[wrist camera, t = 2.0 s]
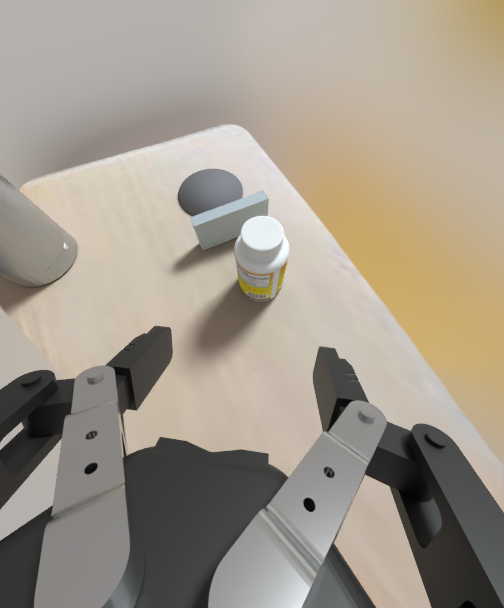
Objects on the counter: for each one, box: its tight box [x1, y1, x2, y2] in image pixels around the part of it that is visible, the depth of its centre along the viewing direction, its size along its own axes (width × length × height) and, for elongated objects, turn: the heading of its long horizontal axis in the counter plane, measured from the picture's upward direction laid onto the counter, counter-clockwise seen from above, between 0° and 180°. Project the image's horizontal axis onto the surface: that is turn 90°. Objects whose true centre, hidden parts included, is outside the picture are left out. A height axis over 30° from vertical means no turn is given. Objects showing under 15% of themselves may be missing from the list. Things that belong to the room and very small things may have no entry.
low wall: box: [190, 191, 268, 251], centre depth 31 cm, size 10×2×5 cm, turn 115°
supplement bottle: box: [234, 216, 289, 301], centre depth 26 cm, size 6×6×10 cm
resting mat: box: [179, 169, 243, 216], centre depth 36 cm, size 10×10×1 cm
